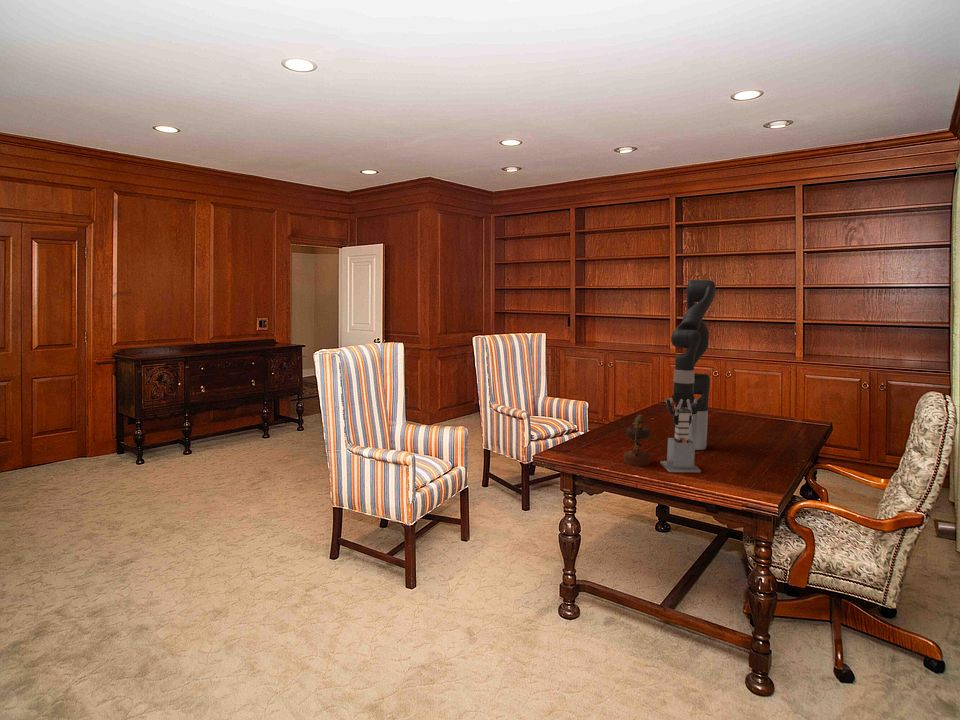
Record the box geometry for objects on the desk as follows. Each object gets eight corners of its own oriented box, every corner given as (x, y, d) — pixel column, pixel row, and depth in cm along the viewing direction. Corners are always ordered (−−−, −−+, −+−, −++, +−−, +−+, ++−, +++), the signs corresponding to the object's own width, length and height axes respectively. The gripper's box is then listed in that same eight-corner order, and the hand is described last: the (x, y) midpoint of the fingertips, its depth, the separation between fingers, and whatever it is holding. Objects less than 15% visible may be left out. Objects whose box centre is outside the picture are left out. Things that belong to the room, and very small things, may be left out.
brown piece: (652, 467, 233) (650, 417, 231) (624, 468, 235) (621, 418, 233) (650, 457, 248) (647, 410, 246) (623, 458, 250) (620, 411, 248)
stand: (660, 463, 239) (661, 433, 238) (690, 463, 239) (691, 434, 238) (669, 472, 227) (670, 441, 226) (700, 472, 227) (702, 441, 226)
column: (672, 455, 235) (674, 408, 233) (684, 455, 235) (686, 408, 233) (676, 458, 230) (678, 411, 228) (689, 458, 230) (691, 411, 228)
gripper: (698, 379, 233) (696, 422, 235) (662, 379, 233) (660, 422, 235) (705, 382, 226) (703, 427, 228) (668, 382, 226) (666, 426, 228)
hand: (681, 424), depth 231 cm, fingers closed on column, 4 cm apart
